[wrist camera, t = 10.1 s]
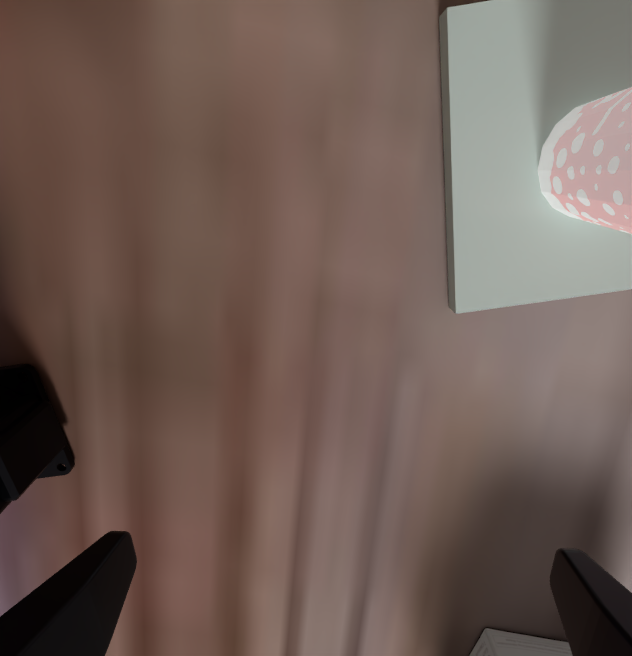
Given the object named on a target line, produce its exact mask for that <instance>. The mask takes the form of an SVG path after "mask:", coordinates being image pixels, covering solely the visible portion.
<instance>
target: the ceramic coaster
mask: <svg viewBox="0 0 632 656" xmlns="http://www.w3.org/2000/svg"><path fill="white" fill-rule="evenodd" d="M439 30H440V59H441V88H442V117H443V146H444V175H445V204H446V233H447V262H448V292H449V308H450V309H451V310H452V311H453V312H454V313H456V314H458V313H465V312H472V311H479V310H487V309H494V308H501V307H508V306H515V305H522V304H529V303H536V302H544V301H551V300H558V299H565V298H572V297H579V296H586V295H593V294H601V293H608V292H615V291H622V290H629V289H632V234H630V233H626V232H622V231H619V230H615V229H612V228H608V227H605V226H601V225H597V224H594V223H590V222H587V221H583V220H580V219H576V218H572V217H569V216H567V215H565V214H563V213H562V212H560V211H558V210H556V209H554V208H552V206H551V205H550V204H549V202H548V201H547V199H546V198H545V196H544V195H543V193H542V192H541V188H540V182H539V176H538V166H539V161H540V156H541V151H542V147H543V145H544V143H545V142H546V140H547V138H548V137H549V135H550V133H551V132H552V130H553V128H554V127H555V125H556V124H557V123H558V122H559V121H560V120H562V119H563V118H564V117H565V116H566V115H567V114H568V113H570V112H571V111H572V110H573V109H574V108H576V107H578V106H581V105H584V104H586V103H589V102H592V101H594V100H597V99H600V98H602V97H605V96H608V95H611V94H614V93H616V92H619V91H622V90H625V89H628V88H630V87H632V0H490V1H484V2H478V3H472V4H466V5H460V6H454V7H447V8H446V9H445V11H444V12H443V13H442V14H441V15H440V17H439Z"/></svg>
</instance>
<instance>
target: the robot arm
mask: <svg viewBox="0 0 632 656" xmlns="http://www.w3.org/2000/svg"><path fill="white" fill-rule="evenodd" d="M22 372H24V373H26V374H27V376H28V377H25V376H24V375H23V374H22ZM62 464H64V465H65V466H63V465H62ZM74 465H75V463H74V459H73V457H72V455H71V452H70V450H69V447H68V445H67V443H66V440H65V437H64V435H63V432H62V430H61V428H60V425H59V423H58V420H57V418H56V415H55V413H54V411H53V408H52V406H51V404H50V401H49V399H48V397H47V394H46V392H45V389H44V387H43V384H42V382H41V380H40V377H39V375H38V372H37V370H36V369H35V368H34V367H33V366H31V365H29V364H20V365H12V366H5V367H0V514H1V513H2V511H3V510H4V509H5V508H6V507H7V506H8V505H9V504H10V503H11V502H12V501H14V500H17V499H18V498H19V497H20V496H21V495H22V494H23V493H24V492H25V491H26V489H27V488H28V487H29V486H30V485H31V484H32V483H33V482H34V481H35V479H37V478H45V477H52V476H60V475H66V474H68V473H69V472H70V471H71V470H72V469H73V467H74ZM136 564H137V558H136V553H135V549H134V546H133V542H132V538H131V535H130V533H129V532H126V531H110V532H108V533H107V534H105V535H104V536H103V537H101V538H100V539H99V540H98V541H96V542H95V543H94V544H92V545H91V546H90V547H89V548H87V549H86V550H85V551H83V552H82V553H81V554H80V555H78V556H77V557H76V558H75V559H73V560H72V561H71V562H69V563H68V564H67V565H66V566H64V567H63V568H62V569H61V570H59V571H58V572H57V573H55V574H54V575H53V576H52V577H50V578H49V579H48V580H46V581H45V582H44V583H43V584H41V585H40V586H39V587H38V588H36V589H35V590H34V591H32V592H31V593H30V594H29V595H27V596H26V597H25V598H23V599H22V600H21V601H20V602H18V603H17V604H16V605H15V606H13V607H12V608H11V609H9V610H8V611H7V612H6V613H4V614H3V615H2V616H0V656H105V654H106V651H107V649H108V647H109V644H110V641H111V639H112V636H113V633H114V630H115V627H116V624H117V622H118V619H119V616H120V613H121V610H122V607H123V604H124V601H125V599H126V596H127V593H128V590H129V587H130V584H131V581H132V578H133V575H134V573H135V569H136ZM550 585H551V590H552V593H553V596H554V599H555V602H556V605H557V609H558V612H559V615H560V618H561V621H562V624H563V627H564V630H565V634H566V637H567V640H568V643H569V646H570V649H571V652H572V655H573V656H632V593H631V592H630V591H629V590H628V589H626V588H625V587H624V586H623V585H622V584H620V583H619V582H618V581H617V580H616V579H615V578H613V577H612V576H611V575H610V574H609V573H608V572H606V571H605V570H604V569H603V568H602V567H601V566H599V565H598V564H597V563H596V562H595V561H594V560H592V559H591V558H590V557H589V556H588V555H586V554H585V553H584V552H583V551H581V550H579V549H567V548H560V549H558V550H557V551H556V554H555V558H554V562H553V566H552V570H551V574H550Z"/></svg>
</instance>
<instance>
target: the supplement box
mask: <svg viewBox="0 0 632 656" xmlns="http://www.w3.org/2000/svg"><path fill="white" fill-rule="evenodd" d="M469 656H573V655H572V652H571V649H570V646H569V643H568V642H563V641H557V640H551V639H545V638H539V637H534V636H528V635H522V634H516V633H510V632H505V631H499V630H493V629H488V628H486V629H484V631H483V633H482V635H481V637H480V638H479V640H478V642H477V644H476V645H475V647H474V649H473V650H472V652H471V654H470V655H469Z"/></svg>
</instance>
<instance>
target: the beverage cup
mask: <svg viewBox="0 0 632 656" xmlns="http://www.w3.org/2000/svg"><path fill="white" fill-rule="evenodd" d="M538 176H539V182H540V188H541V192H542V193H543V195H544V196H545V198H546V199H547V201H548V202H549V204H550V205H551V206H552V208H554V209H556V210H558V211H560V212H562V213H563V214H565V215H567V216H569V217H572V218H576V219H580V220H583V221H587V222H590V223H594V224H597V225H601V226H605V227H608V228H612V229H615V230H619V231H622V232H626V233H630V234H632V87H630V88H628V89H625V90H622V91H619V92H616V93H614V94H611V95H608V96H605V97H602V98H600V99H597V100H594V101H592V102H589V103H586V104H584V105H581V106H578V107H576V108H574V109H573V110H572V111H571V112H570V113H568V114H567V115H566V116H565V117H564V118H563V119H562V120H560V121H559V122H558V123H557V124H556V125H555V127H554V128H553V130H552V132H551V133H550V135H549V137H548V138H547V140H546V142H545V143H544V145H543V147H542V151H541V156H540V161H539V166H538Z"/></svg>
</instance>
